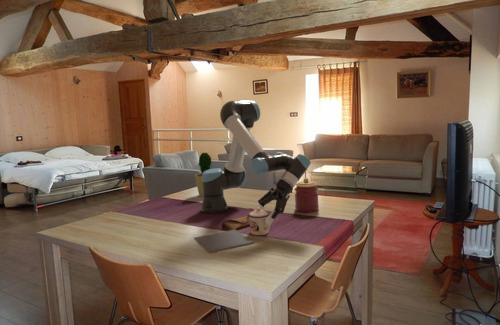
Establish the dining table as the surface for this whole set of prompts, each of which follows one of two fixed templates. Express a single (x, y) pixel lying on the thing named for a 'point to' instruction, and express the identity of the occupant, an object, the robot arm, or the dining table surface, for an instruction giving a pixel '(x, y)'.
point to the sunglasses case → (236, 223)
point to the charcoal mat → (223, 241)
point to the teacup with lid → (259, 222)
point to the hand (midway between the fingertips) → (259, 220)
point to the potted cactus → (204, 165)
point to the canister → (306, 196)
